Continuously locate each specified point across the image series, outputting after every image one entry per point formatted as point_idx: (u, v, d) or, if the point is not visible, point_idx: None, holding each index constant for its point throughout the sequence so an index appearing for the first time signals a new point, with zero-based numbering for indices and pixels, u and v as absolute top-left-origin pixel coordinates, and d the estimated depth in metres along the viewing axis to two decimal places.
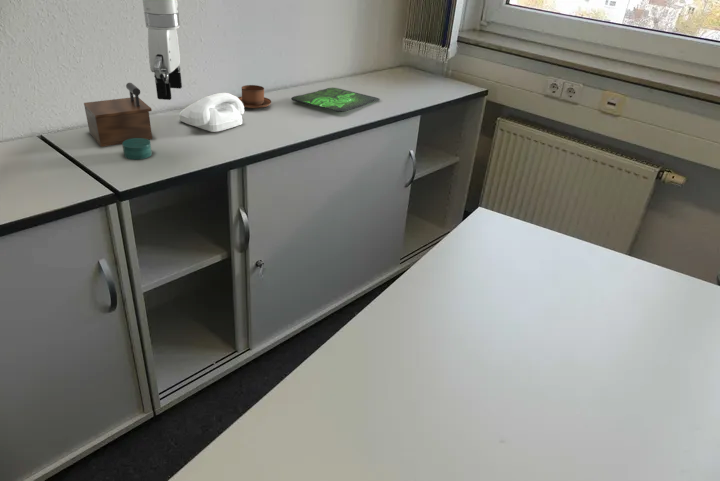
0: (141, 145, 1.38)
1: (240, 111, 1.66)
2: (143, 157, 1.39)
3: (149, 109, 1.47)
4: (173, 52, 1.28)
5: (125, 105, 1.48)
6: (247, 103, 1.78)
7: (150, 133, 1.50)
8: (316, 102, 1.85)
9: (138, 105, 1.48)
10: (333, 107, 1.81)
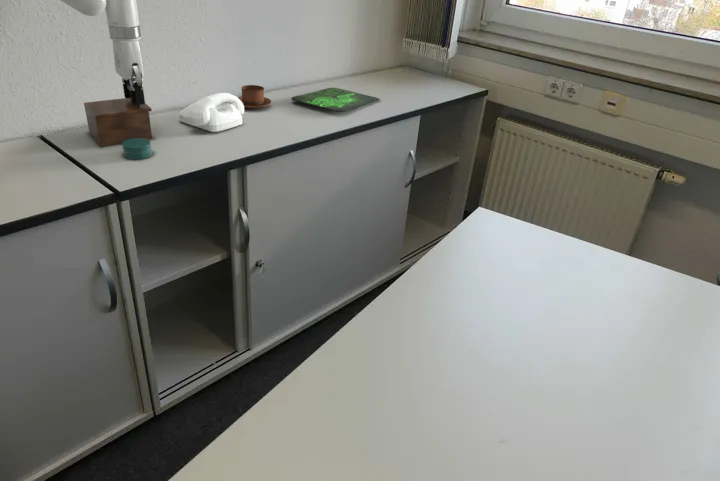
0: (141, 145, 1.38)
1: (240, 111, 1.66)
2: (143, 157, 1.39)
3: (149, 109, 1.47)
4: None
5: (125, 105, 1.48)
6: (247, 103, 1.78)
7: (150, 133, 1.50)
8: (316, 102, 1.85)
9: (138, 105, 1.48)
10: (333, 107, 1.81)
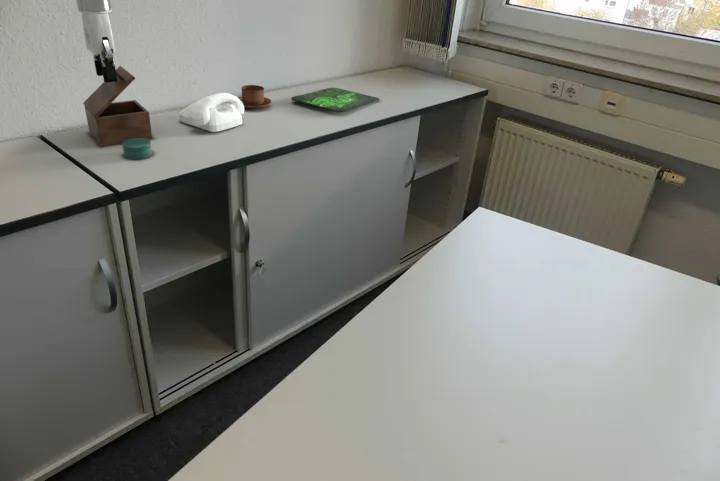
0: (141, 145, 1.38)
1: (240, 111, 1.66)
2: (143, 157, 1.39)
3: (132, 78, 1.41)
4: None
5: (113, 85, 1.43)
6: (247, 103, 1.78)
7: (150, 133, 1.50)
8: (316, 102, 1.85)
9: (122, 79, 1.42)
10: (333, 107, 1.81)
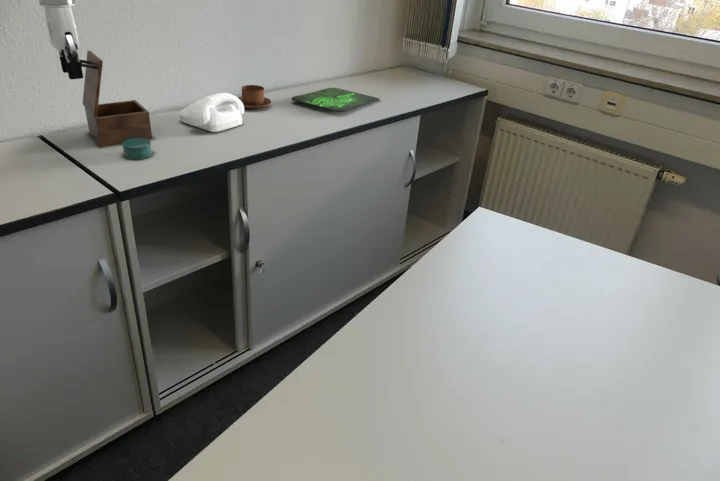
0: (141, 145, 1.38)
1: (240, 111, 1.66)
2: (143, 157, 1.39)
3: (100, 62, 1.34)
4: None
5: (92, 76, 1.39)
6: (247, 103, 1.78)
7: (150, 133, 1.50)
8: (316, 102, 1.85)
9: (94, 67, 1.37)
10: (333, 107, 1.81)
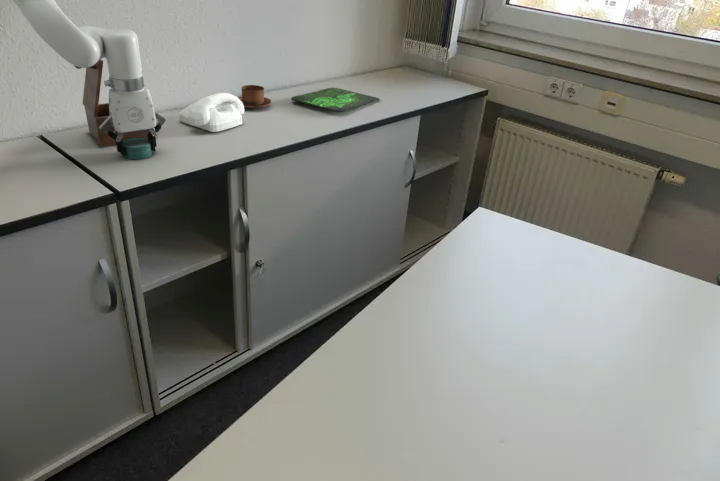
0: (141, 145, 1.38)
1: (240, 111, 1.66)
2: (143, 157, 1.39)
3: (100, 62, 1.35)
4: None
5: (92, 76, 1.39)
6: (247, 103, 1.78)
7: None
8: (316, 102, 1.85)
9: (94, 67, 1.37)
10: (333, 107, 1.81)
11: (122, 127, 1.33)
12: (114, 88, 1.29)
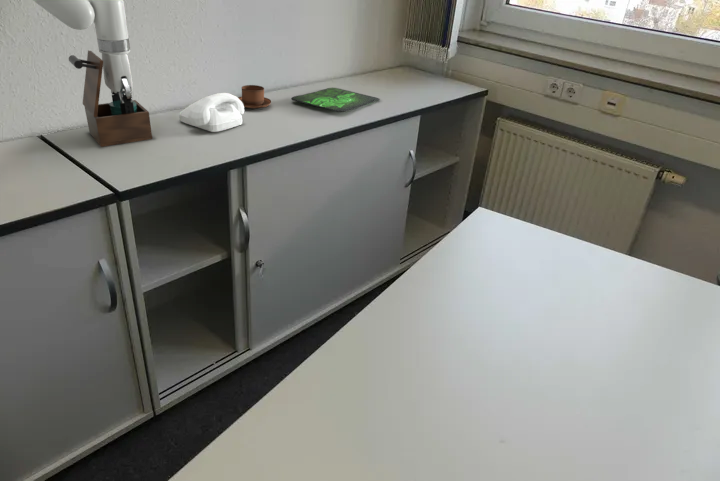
0: (114, 105, 1.46)
1: (240, 111, 1.66)
2: (111, 115, 1.47)
3: (100, 62, 1.35)
4: None
5: (92, 76, 1.39)
6: (247, 103, 1.78)
7: (150, 133, 1.50)
8: (316, 102, 1.85)
9: (94, 67, 1.37)
10: (333, 107, 1.81)
11: (105, 80, 1.46)
12: None
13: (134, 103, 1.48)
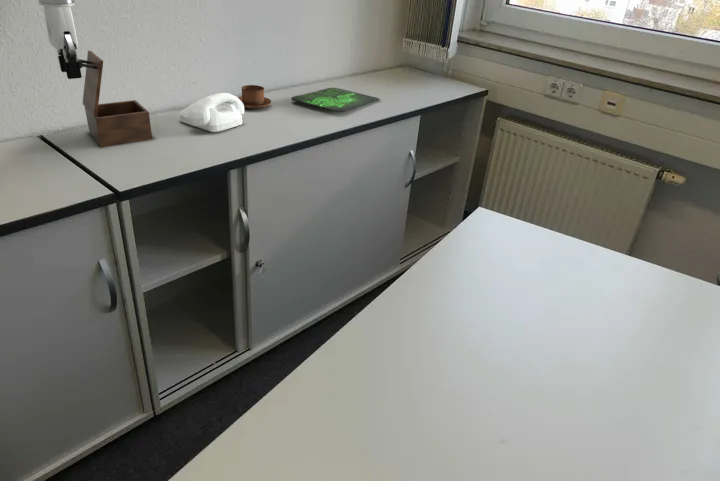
0: None
1: (240, 111, 1.66)
2: None
3: (100, 62, 1.35)
4: None
5: (92, 76, 1.39)
6: (247, 103, 1.78)
7: (150, 133, 1.50)
8: (316, 102, 1.85)
9: (94, 67, 1.37)
10: (333, 107, 1.81)
11: (49, 38, 1.34)
12: None
13: None
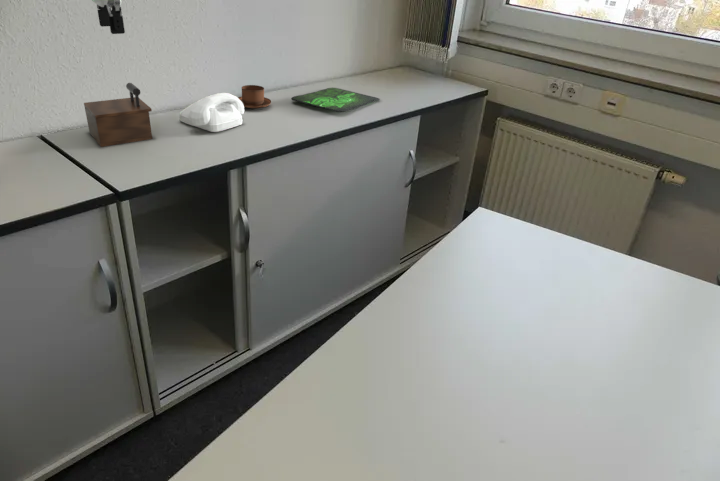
0: None
1: (240, 111, 1.66)
2: None
3: (149, 109, 1.47)
4: None
5: (125, 105, 1.48)
6: (247, 103, 1.78)
7: (150, 133, 1.50)
8: (316, 102, 1.85)
9: (138, 105, 1.48)
10: (333, 107, 1.81)
11: None
12: None
13: None
